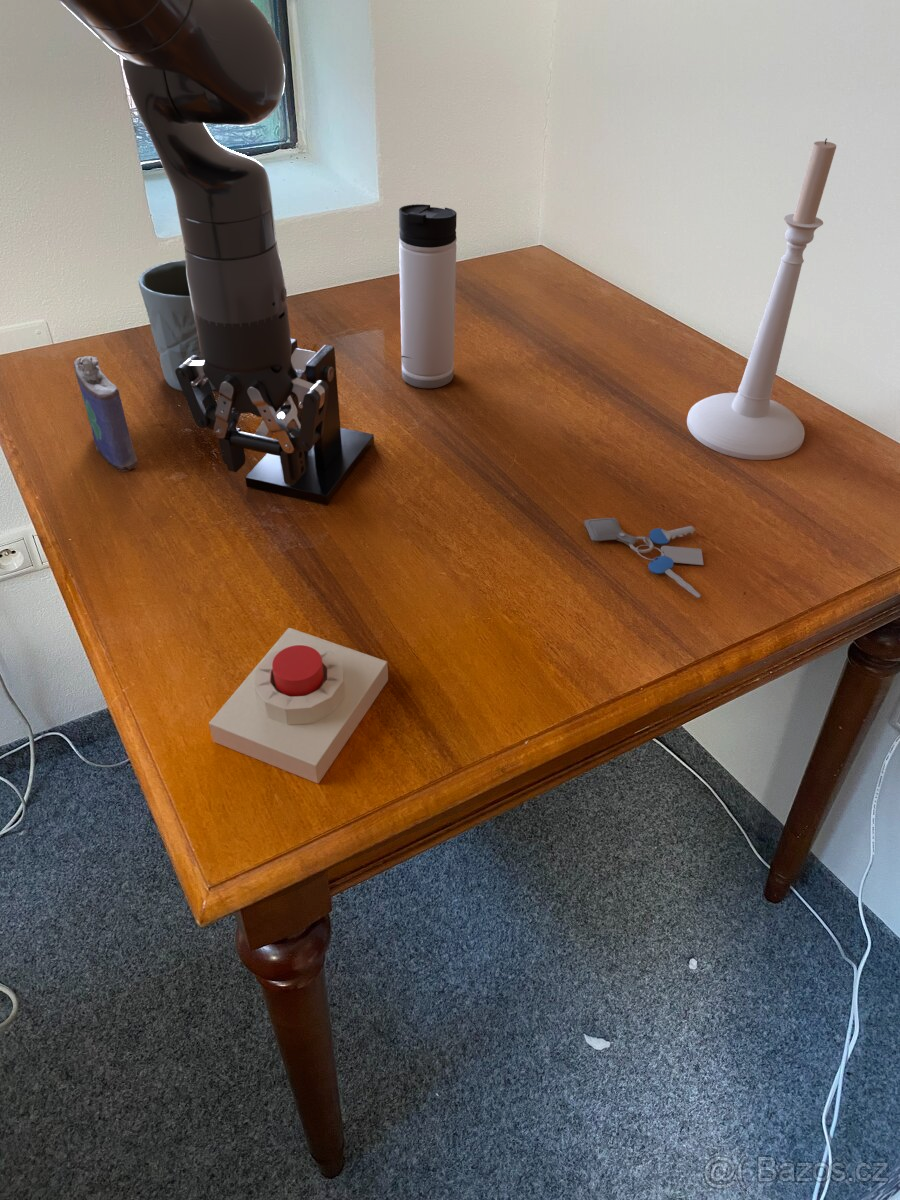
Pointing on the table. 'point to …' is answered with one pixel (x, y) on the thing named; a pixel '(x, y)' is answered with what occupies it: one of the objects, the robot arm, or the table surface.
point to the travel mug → (427, 294)
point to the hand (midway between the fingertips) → (265, 473)
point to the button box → (300, 709)
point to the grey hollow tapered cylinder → (170, 316)
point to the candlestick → (767, 348)
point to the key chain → (658, 565)
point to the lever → (263, 436)
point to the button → (298, 670)
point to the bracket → (317, 446)
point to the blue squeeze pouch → (105, 414)
